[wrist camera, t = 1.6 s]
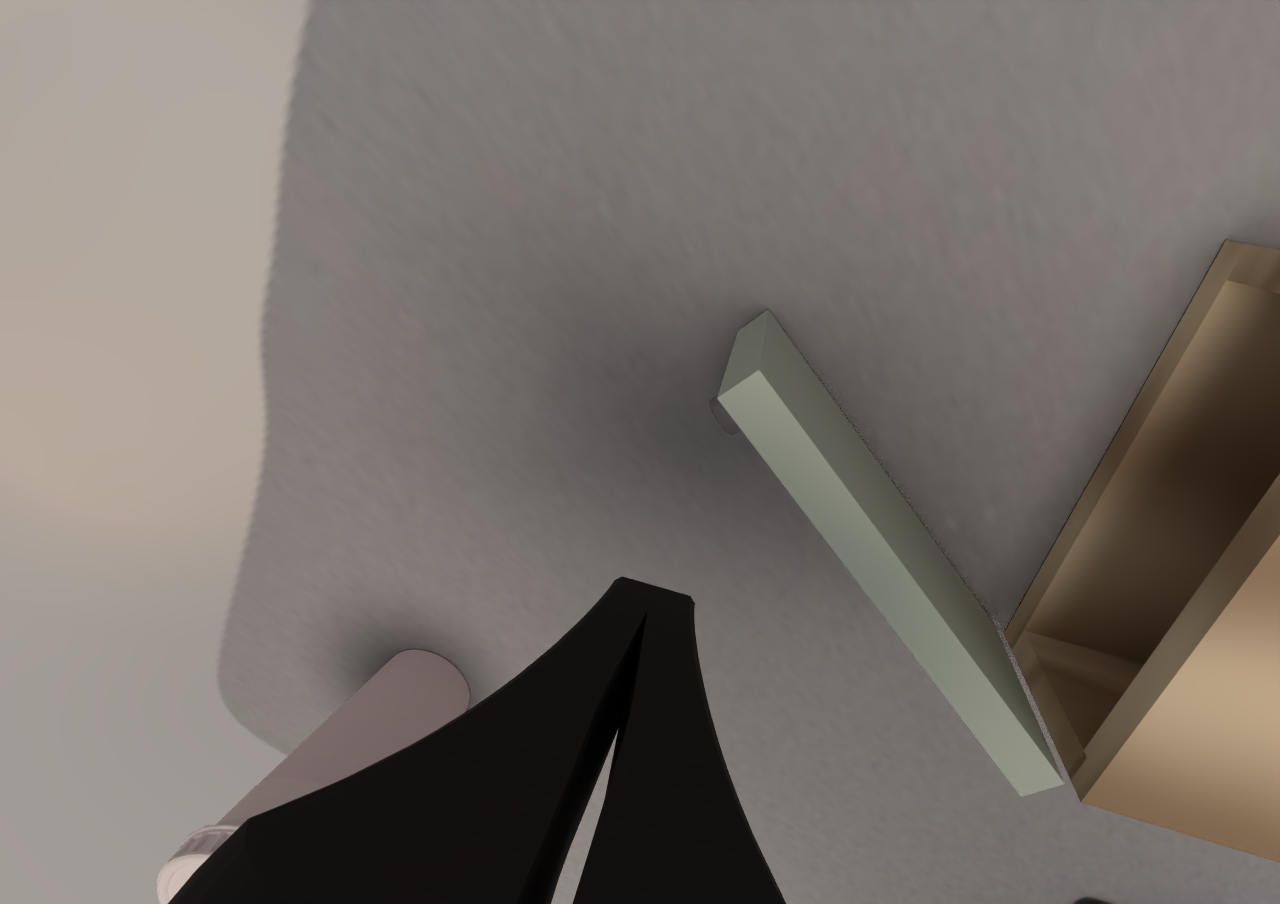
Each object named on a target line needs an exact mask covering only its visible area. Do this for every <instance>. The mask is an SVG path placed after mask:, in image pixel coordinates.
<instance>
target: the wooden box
mask: <svg viewBox="0 0 1280 904" xmlns="http://www.w3.org/2000/svg"><path fill="white" fill-rule="evenodd" d="M1004 634H1005V637H1006V639H1007V641H1008V643H1009V645H1010V648H1011V650H1012V652H1013V654H1014V656H1015V659H1016V661H1017V663H1018V665H1019V667H1020V670H1021V672H1022V674H1023V676H1024V678H1025V681H1026V683H1027V685H1028V687H1029V689H1030V692H1031V694H1032V696H1033V698H1034V700H1035V703H1036V705H1037V707H1038V709H1039V711H1040V714H1041V716H1042V718H1043V720H1044V722H1045V725H1046V727H1047V729H1048V731H1049V733H1050V736H1051V738H1052V740H1053V742H1054V744H1055V747H1056V749H1057V751H1058V753H1059V755H1060V757H1061V760H1062V762H1063V764H1064V766H1065V768H1066V771H1067V773H1068V775H1069V777H1070V779H1071V782H1072V784H1073V786H1074V788H1075V790H1076V793H1077V795H1078V797H1079V799H1080V801H1081V803H1085V804H1088V805H1091V806H1095V807H1098V808H1101V809H1104V810H1108V811H1111V812H1114V813H1118V814H1121V815H1124V816H1127V817H1131V818H1134V819H1137V820H1141V821H1144V822H1147V823H1151V824H1154V825H1157V826H1160V827H1164V828H1167V829H1170V830H1174V831H1177V832H1180V833H1183V834H1187V835H1190V836H1193V837H1197V838H1200V839H1203V840H1206V841H1210V842H1213V843H1216V844H1220V845H1223V846H1226V847H1229V848H1233V849H1236V850H1239V851H1243V852H1246V853H1249V854H1252V855H1256V856H1259V857H1262V858H1266V859H1269V860H1272V861H1275V862H1279V863H1280V249H1275V248H1269V247H1263V246H1257V245H1252V244H1246V243H1240V242H1235V241H1229V240H1226V241H1225V243H1224V244H1223V246H1222V248H1221V250H1220V252H1219V253H1218V255H1217V257H1216V259H1215V260H1214V262H1213V264H1212V266H1211V267H1210V269H1209V271H1208V273H1207V275H1206V276H1205V278H1204V280H1203V282H1202V283H1201V285H1200V287H1199V289H1198V290H1197V292H1196V294H1195V296H1194V298H1193V299H1192V301H1191V303H1190V305H1189V306H1188V308H1187V310H1186V312H1185V313H1184V315H1183V317H1182V319H1181V321H1180V322H1179V324H1178V326H1177V328H1176V329H1175V331H1174V333H1173V335H1172V337H1171V338H1170V340H1169V342H1168V344H1167V345H1166V347H1165V349H1164V351H1163V352H1162V354H1161V356H1160V358H1159V360H1158V361H1157V363H1156V365H1155V367H1154V368H1153V370H1152V372H1151V374H1150V375H1149V377H1148V379H1147V381H1146V383H1145V384H1144V386H1143V388H1142V390H1141V391H1140V393H1139V395H1138V397H1137V398H1136V400H1135V402H1134V404H1133V406H1132V407H1131V409H1130V411H1129V413H1128V414H1127V416H1126V418H1125V420H1124V422H1123V423H1122V425H1121V427H1120V429H1119V430H1118V432H1117V434H1116V436H1115V437H1114V439H1113V441H1112V443H1111V445H1110V446H1109V448H1108V450H1107V452H1106V453H1105V455H1104V457H1103V459H1102V460H1101V462H1100V464H1099V466H1098V468H1097V469H1096V471H1095V473H1094V475H1093V476H1092V478H1091V480H1090V482H1089V484H1088V485H1087V487H1086V489H1085V491H1084V492H1083V494H1082V496H1081V498H1080V499H1079V501H1078V503H1077V505H1076V507H1075V508H1074V510H1073V512H1072V514H1071V515H1070V517H1069V519H1068V521H1067V522H1066V524H1065V526H1064V528H1063V530H1062V531H1061V533H1060V535H1059V537H1058V538H1057V540H1056V542H1055V544H1054V545H1053V547H1052V549H1051V551H1050V553H1049V554H1048V556H1047V558H1046V560H1045V561H1044V563H1043V565H1042V567H1041V569H1040V570H1039V572H1038V574H1037V576H1036V577H1035V579H1034V581H1033V583H1032V584H1031V586H1030V588H1029V590H1028V592H1027V593H1026V595H1025V597H1024V599H1023V600H1022V602H1021V604H1020V606H1019V607H1018V609H1017V611H1016V613H1015V615H1014V616H1013V618H1012V620H1011V622H1010V623H1009V625H1008V627H1007V629H1006V631H1005V632H1004Z"/></svg>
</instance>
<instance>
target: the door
mask: <svg viewBox="0 0 1280 904" xmlns="http://www.w3.org/2000/svg"><path fill="white" fill-rule="evenodd" d="M709 404H710V408H711V410H712V413H713V415H714V416H715V418H716V420H717V421H718V423H719V424H720V425H721V427H722V428H723V429H724V430H725V431H726V432H727V433H729V434H730V435H734V434H735V433H737V432H738V431H740V430H742V432H743V433H744V434H745V435H746V437H747V438H748V439H749V441H750V442H751V443H752V445H753V446H754V447H755V449H756V450H757V451H758V452H759V454H760V455H761V456H762V458H763V459H764V460H765V462H766V463H767V464H768V466H769V467H770V468H771V470H772V471H773V472H774V473H775V475H776V476H777V477H778V479H779V480H780V481H781V483H782V484H783V485H784V487H785V488H786V489H787V491H788V492H789V493H790V494H791V496H792V497H793V498H794V500H795V501H796V502H797V504H798V505H799V506H800V508H801V509H802V510H803V512H804V513H805V514H806V515H807V517H808V518H809V519H810V521H811V522H812V523H813V525H814V526H815V527H816V529H817V530H818V531H819V533H820V534H821V535H822V536H823V538H824V539H825V540H826V542H827V543H828V544H829V546H830V547H831V548H832V550H833V551H834V552H835V553H836V555H837V556H838V557H839V559H840V560H841V561H842V563H843V564H844V565H845V567H846V568H847V569H848V571H849V572H850V573H851V574H852V576H853V577H854V578H855V580H856V581H857V582H858V584H859V585H860V586H861V588H862V589H863V590H864V592H865V593H866V594H867V595H868V597H869V598H870V599H871V601H872V602H873V603H874V605H875V606H876V607H877V609H878V610H879V611H880V613H881V614H882V615H883V616H884V618H885V619H886V620H887V622H888V623H889V624H890V626H891V627H892V628H893V630H894V631H895V632H896V634H897V635H898V636H899V637H900V639H901V640H902V641H903V643H904V644H905V645H906V647H907V648H908V649H909V651H910V652H911V653H912V654H913V656H914V657H915V658H916V660H917V661H918V662H919V664H920V665H921V666H922V668H923V669H924V670H925V672H926V673H927V674H928V675H929V677H930V678H931V679H932V681H933V682H934V683H935V685H936V686H937V687H938V689H939V690H940V691H941V693H942V694H943V695H944V696H945V698H946V699H947V700H948V702H949V703H950V704H951V706H952V707H953V708H954V710H955V711H956V712H957V714H958V715H959V716H960V717H961V719H962V720H963V721H964V723H965V724H966V725H967V727H968V728H969V729H970V731H971V732H972V733H973V735H974V736H975V737H976V738H977V740H978V741H979V742H980V744H981V745H982V746H983V748H984V749H985V750H986V752H987V753H988V754H989V756H990V757H991V758H992V759H993V761H994V762H995V763H996V765H997V766H998V767H999V769H1000V770H1001V771H1002V773H1003V774H1004V775H1005V776H1006V778H1007V779H1008V780H1009V782H1010V783H1011V784H1012V786H1013V787H1014V788H1015V790H1016V791H1017V792H1018V794H1019V795H1020V796H1021V797H1024V796H1027V795H1030V794H1034V793H1037V792H1040V791H1044V790H1047V789H1050V788H1054V787H1057V786H1061V785H1064V784H1065V783H1064V781H1063V779H1062V776H1061V774H1060V772H1059V770H1058V767H1057V765H1056V763H1055V761H1054V758H1053V756H1052V754H1051V751H1050V749H1049V747H1048V745H1047V742H1046V740H1045V738H1044V736H1043V733H1042V731H1041V729H1040V727H1039V724H1038V722H1037V720H1036V718H1035V715H1034V713H1033V711H1032V709H1031V706H1030V704H1029V702H1028V700H1027V697H1026V695H1025V693H1024V690H1023V688H1022V686H1021V684H1020V681H1019V679H1018V677H1017V675H1016V672H1015V670H1014V668H1013V666H1012V663H1011V661H1010V659H1009V657H1008V654H1007V652H1006V650H1005V648H1004V645H1003V643H1002V641H1001V639H1000V636H999V634H998V632H997V629H996V627H995V625H994V623H993V621H992V620H991V619H990V617H989V616H988V614H987V613H986V612H985V610H984V609H983V608H982V606H981V605H980V603H979V602H978V601H977V599H976V598H975V596H974V595H973V594H972V592H971V591H970V589H969V588H968V587H967V585H966V584H965V582H964V581H963V580H962V578H961V577H960V575H959V574H958V573H957V571H956V570H955V569H954V567H953V566H952V564H951V563H950V562H949V560H948V559H947V557H946V556H945V555H944V553H943V552H942V550H941V549H940V548H939V546H938V545H937V543H936V542H935V541H934V539H933V538H932V536H931V535H930V534H929V532H928V531H927V529H926V528H925V527H924V525H923V524H922V523H921V521H920V520H919V518H918V517H917V516H916V514H915V513H914V511H913V510H912V509H911V507H910V506H909V504H908V503H907V502H906V500H905V499H904V497H903V496H902V495H901V493H900V492H899V490H898V489H897V488H896V486H895V485H894V484H893V482H892V481H891V479H890V478H889V477H888V475H887V474H886V472H885V471H884V470H883V468H882V467H881V465H880V464H879V463H878V461H877V460H876V458H875V457H874V456H873V454H872V453H871V451H870V450H869V449H868V447H867V446H866V445H865V443H864V442H863V440H862V439H861V438H860V436H859V435H858V433H857V432H856V431H855V429H854V428H853V426H852V425H851V424H850V422H849V421H848V419H847V418H846V417H845V415H844V414H843V412H842V411H841V410H840V408H839V407H838V405H837V404H836V403H835V401H834V400H833V399H832V397H831V396H830V394H829V393H828V392H827V390H826V389H825V387H824V386H823V385H822V383H821V382H820V380H819V379H818V378H817V376H816V375H815V373H814V372H813V371H812V369H811V368H810V366H809V365H808V364H807V362H806V361H805V360H804V358H803V357H802V355H801V354H800V353H799V351H798V350H797V348H796V347H795V346H794V344H793V343H792V341H791V340H790V339H789V337H788V336H787V334H786V333H785V332H784V330H783V329H782V327H781V326H780V325H779V323H778V322H777V321H776V319H775V318H774V316H773V315H772V314H771V312H770V311H769V309H768V310H766V311H765V312H764V313H762V314H761V315H759V316H758V317H757V318H755V319H754V320H752V321H751V322H750V323H748V324H747V325H745V326H744V327H743V328H741V329H740V330H738V333H737V336H736V339H735V342H734V346H733V349H732V352H731V355H730V358H729V362H728V365H727V368H726V371H725V374H724V378H723V381H722V384H721V387H720V390H719V394H718V395H717V396H716V397H714V398H713V399H711V400H710V402H709Z"/></svg>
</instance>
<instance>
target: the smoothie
mask: <svg viewBox="0 0 1280 904" xmlns="http://www.w3.org/2000/svg"><path fill="white" fill-rule="evenodd" d="M469 700H470V692H469V688H468V685H467V682H466V680H465V679H464V677H463V675H462V674H461V673H460V672H459V670H458V669H457V668H456V667H455V666H454V665H452V664H451V663H450V662H449V661H447V660H446V659H444V658H443V657H441V656H439V655H436V654H434V653H431V652H428V651H424V650H406V651H402V652H400V653H398V654H396V655H395V656H394V657H393V658H392V659H391V660H390V661H389V662H388V663H386V664H385V665H384V666H383V667H382V668H381V669H380V670H379V671H378V672H377V673H376V674H375V675H374V676H373V677H372V678H371V679H370V680H368V681H367V682H366V683H365V684H364V685H363V686H362V687H361V688H360V689H359V690H358V691H357V692H356V693H355V694H354V695H353V696H351V697H350V698H349V699H348V700H347V701H346V702H345V703H344V704H343V705H342V706H341V707H340V708H339V709H338V710H337V711H336V712H335V713H333V714H332V715H331V716H330V717H329V718H328V719H327V720H326V721H325V722H324V723H323V724H322V725H321V726H320V727H319V728H318V729H316V730H315V731H314V732H313V733H312V734H311V735H310V736H309V737H308V738H307V739H306V740H305V741H304V742H303V743H302V744H301V745H299V746H298V747H297V748H296V749H295V750H294V751H293V752H292V753H291V754H290V755H289V756H288V757H287V758H286V759H285V760H284V761H283V762H282V763H280V764H279V765H278V766H277V767H276V768H275V769H274V770H273V771H272V772H271V773H270V774H269V775H268V776H267V777H266V778H264V779H263V780H262V781H261V782H260V783H259V784H258V785H257V786H255V787H254V788H253V789H252V790H251V791H250V792H249V793H248V794H247V795H246V796H245V797H244V798H243V799H242V800H241V801H240V802H239V803H238V804H237V805H236V806H235V807H234V808H233V809H232V810H231V811H230V812H229V813H228V814H227V815H226V816H225V817H223V818H222V820H220V821H219V822H218V823H217V824H216V825H209V826H204V827H203V828H201V829H199V830H197V831H195V832H193V833H191V834H189V835H188V837H187V838H186V840H185V841H184V842H183V844H182V845H181V847H180V849H179V850H178V851H177V852H176V854H175V855H174V856H173V857H172V858H171V859H170V860H169V861H168V862H167V864H166V865H165V866H164V867H163V868H162V870H161V871H160V873H159V876H158V880H157V894H158V899H159V902H160V904H168V903H169V902H170V900H171V899H172V898H173V897H174V896H175V894H176V893H177V892H178V891H179V890H180V889H181V887H182V886H183V885H184V884H185V883H186V881H187V880H188V879H189V878H190V877H191V875H192V874H193V873H194V872H195V871H196V870H197V869H198V868H199V867H200V866H201V865H202V864H203V863H204V862H205V861H206V860H207V859H208V858H209V857H210V856H211V855H212V854H213V853H214V852H215V851H216V850H217V849H218V848H219V847H220V846H221V845H222V844H223V843H224V842H225V841H226V840H227V839H228V838H229V837H230V836H231V835H232V834H233V833H234V832H235V831H236V830H237V829H238V828H239V827H240V826H241V825H242V824H243V823H244V822H245V821H246V820H247V819H248V818H250V817H253V816H256V815H258V814H261V813H263V812H266V811H268V810H271V809H273V808H275V807H278V806H280V805H283V804H285V803H287V802H290V801H292V800H295V799H297V798H299V797H302V796H304V795H307V794H309V793H311V792H314V791H316V790H318V789H321V788H323V787H326V786H328V785H330V784H333V783H335V782H337V781H339V780H341V779H344V778H346V777H348V776H350V775H352V774H354V773H356V772H358V771H360V770H362V769H364V768H366V767H368V766H370V765H372V764H374V763H376V762H378V761H380V760H382V759H384V758H386V757H388V756H390V755H392V754H394V753H396V752H398V751H400V750H402V749H404V748H406V747H407V746H409V745H411V744H413V743H415V742H417V741H418V740H420V739H422V738H424V737H425V736H427V735H429V734H431V733H432V732H434V731H436V730H437V729H439V728H441V727H442V726H444V725H445V724H447V723H449V722H450V721H452V720H454V719H455V718H457V717H458V716H460V715H462V714H463V713H465V711H466V709H467V707H468V704H469Z"/></svg>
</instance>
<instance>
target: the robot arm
mask: <svg viewBox="0 0 1280 904" xmlns="http://www.w3.org/2000/svg"><path fill="white" fill-rule="evenodd" d="M694 607H695V603H694V601H693V600H692V598H691V596H688V595H685V594H681V593H678V592H674V591H671V590H667V589H664V588H660V587H657V586H653V585H650V584H647V583H643V582H640V581H636V580H633V579H629V578H626V577H620V578H618V579H616V580H615V581H614V582H613V584H612V585H611V586H610V588H609V589H608V590H607V591H606V593H605V594H604V595H603V596H602V597H601V599H600V600H599V601H598V602H597V603H596V604H595V605H594V606H593V607H592V609H591V610H590V611H589V612H588V613H587V614H586V615H585V616H584V617H583V618H582V619H581V620H580V621H579V622H578V623H577V624H576V625H575V626H574V627H573V628H572V629H570V630H569V631H568V632H567V633H566V634H565V635H564V636H563V637H562V638H561V639H560V640H559V641H558V642H557V643H556V644H555V645H553V646H552V647H551V648H550V649H549V650H548V651H546V652H545V653H544V654H543V655H542V656H540V657H539V658H538V659H537V660H536V661H534V662H533V663H532V664H531V665H530V666H528V667H527V668H526V669H525V670H524V671H522V672H521V673H520V674H519V675H517V676H516V677H515V678H513V679H512V680H511V681H509V682H508V683H507V684H505V685H504V686H503V687H501V688H500V689H499V690H497V691H496V692H494V693H493V694H492V695H490V696H489V697H487V698H486V699H484V700H483V701H481V702H480V703H478V704H477V705H476V706H474V707H473V708H471V709H470V710H468V711H466V712H465V713H463V714H462V715H460V716H458V717H457V718H455V719H454V720H452V721H450V722H449V723H447V724H445V725H444V726H442V727H441V728H439V729H437V730H436V731H434V732H432V733H431V734H429V735H427V736H425V737H424V738H422V739H420V740H418V741H417V742H415V743H413V744H411V745H409V746H407V747H406V748H404V749H402V750H400V751H398V752H396V753H394V754H392V755H390V756H388V757H386V758H384V759H382V760H380V761H378V762H376V763H374V764H372V765H370V766H368V767H366V768H364V769H362V770H360V771H358V772H356V773H354V774H352V775H350V776H348V777H346V778H344V779H341V780H339V781H337V782H335V783H333V784H330V785H328V786H326V787H323V788H321V789H318V790H316V791H314V792H311V793H309V794H307V795H304V796H302V797H299V798H297V799H295V800H292V801H290V802H287V803H285V804H283V805H280V806H278V807H275V808H273V809H271V810H268V811H266V812H263V813H261V814H258V815H256V816H253V817H250V818H248V819H247V820H246V821H245V822H244V823H243V824H242V825H241V826H240V827H239V828H238V829H237V830H236V831H235V832H234V833H233V834H232V835H231V836H230V837H229V838H228V839H227V840H226V841H225V842H224V843H223V844H222V845H221V846H220V847H219V848H218V849H217V850H216V851H215V852H214V853H213V854H212V855H211V856H210V857H209V858H208V859H207V860H206V861H205V862H204V863H203V864H202V865H201V866H200V867H199V868H198V869H197V870H196V871H195V872H194V873H193V874H192V875H191V877H190V878H189V879H188V880H187V881H186V883H185V884H184V885H183V886H182V887H181V889H180V890H179V891H178V892H177V893H176V894H175V896H174V897H173V898H172V899H171V900H170V902H169V903H168V904H551V902H552V898H553V895H554V892H555V889H556V886H557V882H558V879H559V876H560V873H561V871H562V868H563V865H564V862H565V860H566V857H567V854H568V851H569V849H570V846H571V843H572V841H573V839H574V836H575V834H576V831H577V829H578V826H579V824H580V821H581V819H582V816H583V814H584V812H585V809H586V807H587V804H588V802H589V799H590V797H591V794H592V792H593V789H594V787H595V784H596V782H597V780H598V777H599V775H600V772H601V770H602V767H603V765H604V762H605V760H606V757H607V755H608V752H609V750H610V747H611V745H612V743H613V740H614V738H615V735H616V733H617V730H618V734H617V739H616V744H615V749H614V754H613V759H612V764H611V770H610V775H609V780H608V785H607V790H606V795H605V800H604V804H603V807H602V810H601V814H600V817H599V820H598V823H597V827H596V830H595V833H594V836H593V840H592V843H591V846H590V849H589V853H588V856H587V859H586V862H585V866H584V869H583V872H582V875H581V879H580V882H579V885H578V888H577V891H576V895H575V898H574V901H573V904H786V902H785V900H784V898H783V896H782V894H781V892H780V890H779V888H778V886H777V884H776V882H775V879H774V877H773V875H772V873H771V871H770V869H769V867H768V865H767V863H766V861H765V858H764V856H763V854H762V852H761V850H760V848H759V846H758V844H757V842H756V840H755V837H754V835H753V833H752V831H751V828H750V826H749V823H748V821H747V818H746V816H745V814H744V811H743V809H742V806H741V804H740V801H739V799H738V796H737V794H736V791H735V788H734V786H733V783H732V780H731V777H730V775H729V772H728V769H727V766H726V763H725V760H724V757H723V754H722V751H721V748H720V745H719V742H718V738H717V735H716V731H715V728H714V724H713V721H712V717H711V713H710V709H709V705H708V701H707V697H706V693H705V688H704V683H703V678H702V674H701V669H700V664H699V658H698V651H697V644H696V636H695V624H694ZM618 728H619V729H618Z"/></svg>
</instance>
